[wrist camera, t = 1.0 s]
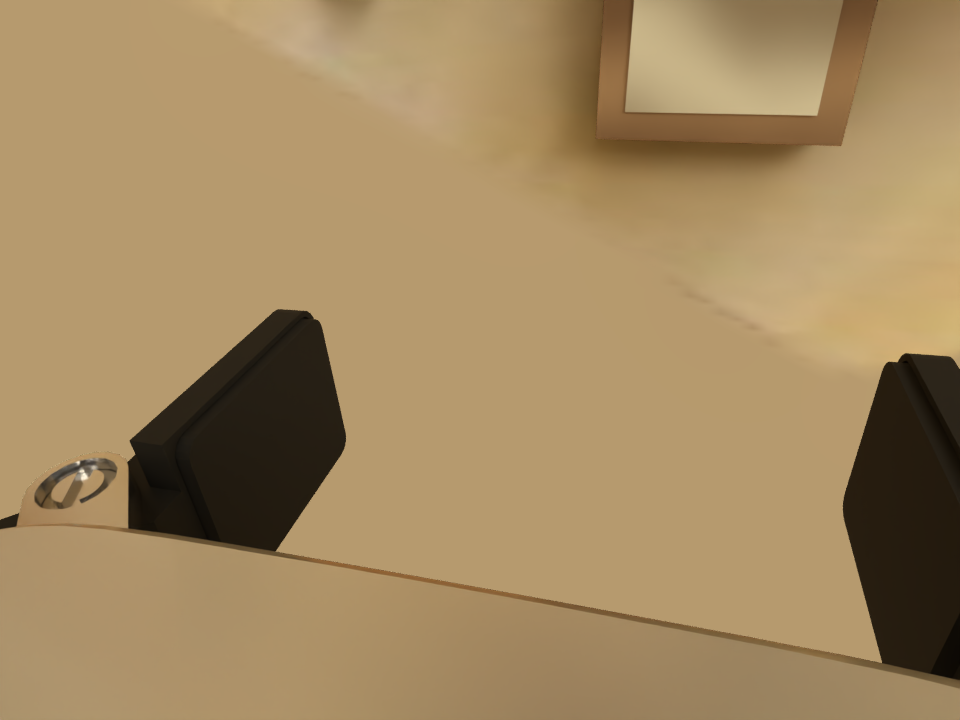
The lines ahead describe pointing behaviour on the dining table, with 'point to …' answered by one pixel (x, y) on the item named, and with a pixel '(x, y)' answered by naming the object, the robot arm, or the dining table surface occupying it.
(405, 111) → the dining table surface
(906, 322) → the dining table surface
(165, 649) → the robot arm
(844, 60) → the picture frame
